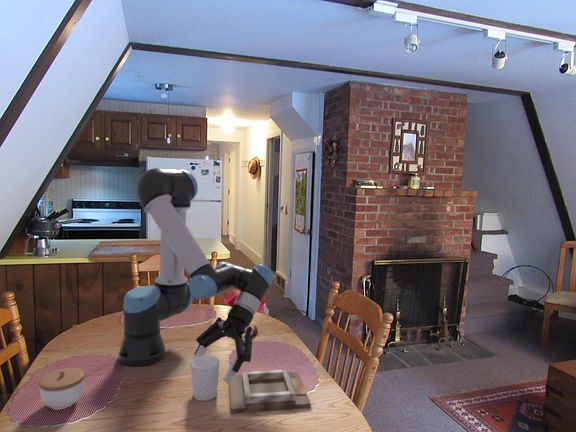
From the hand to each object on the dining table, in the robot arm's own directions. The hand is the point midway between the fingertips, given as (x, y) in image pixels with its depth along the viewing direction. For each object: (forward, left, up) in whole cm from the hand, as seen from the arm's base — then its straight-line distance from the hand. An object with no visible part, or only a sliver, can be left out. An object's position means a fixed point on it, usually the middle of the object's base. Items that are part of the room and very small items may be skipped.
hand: (208, 374), depth 115 cm
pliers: (+11, +40, -7) cm, 42 cm away
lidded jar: (-39, 0, -7) cm, 39 cm away
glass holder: (+17, -1, -6) cm, 18 cm away
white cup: (-1, 0, -7) cm, 7 cm away
